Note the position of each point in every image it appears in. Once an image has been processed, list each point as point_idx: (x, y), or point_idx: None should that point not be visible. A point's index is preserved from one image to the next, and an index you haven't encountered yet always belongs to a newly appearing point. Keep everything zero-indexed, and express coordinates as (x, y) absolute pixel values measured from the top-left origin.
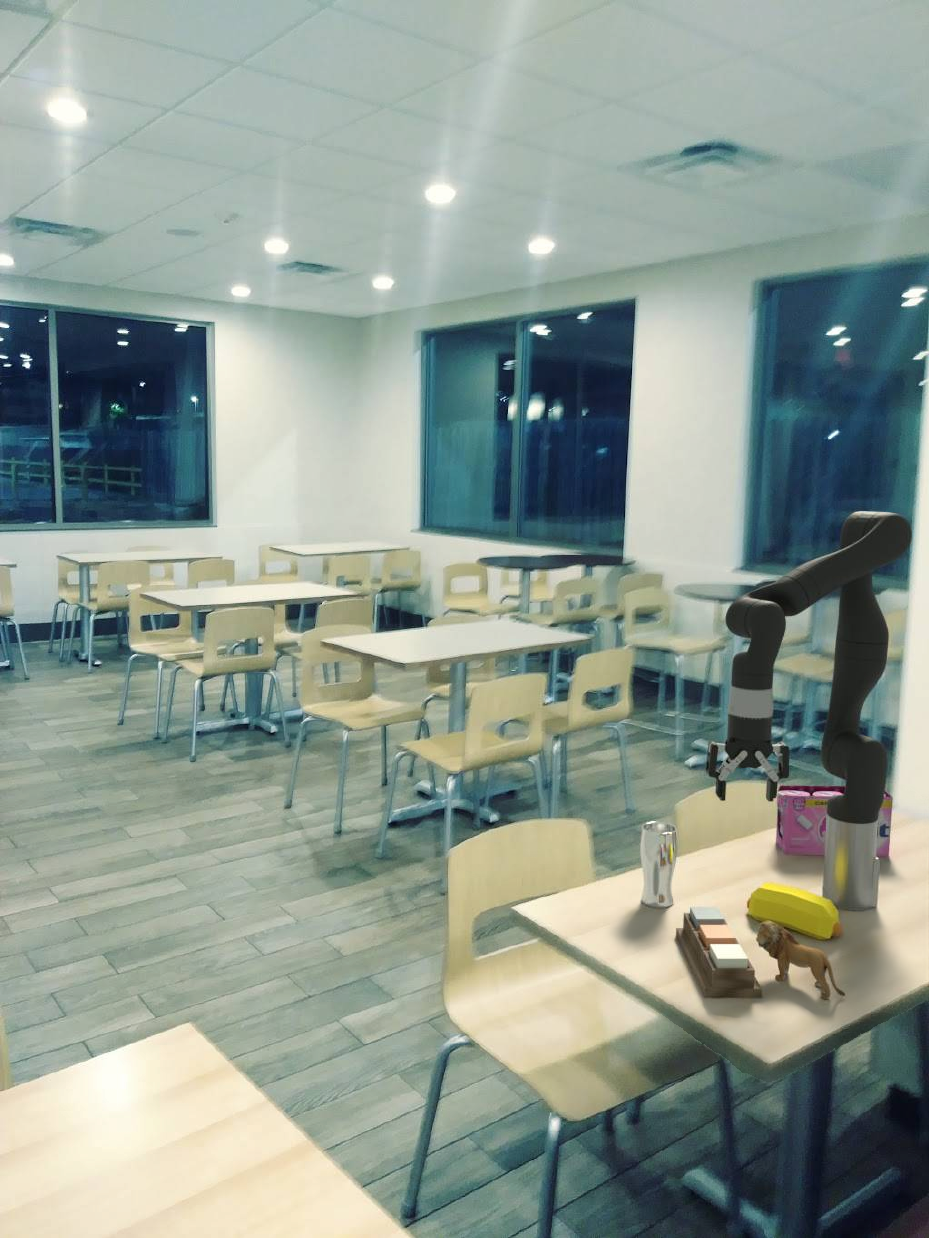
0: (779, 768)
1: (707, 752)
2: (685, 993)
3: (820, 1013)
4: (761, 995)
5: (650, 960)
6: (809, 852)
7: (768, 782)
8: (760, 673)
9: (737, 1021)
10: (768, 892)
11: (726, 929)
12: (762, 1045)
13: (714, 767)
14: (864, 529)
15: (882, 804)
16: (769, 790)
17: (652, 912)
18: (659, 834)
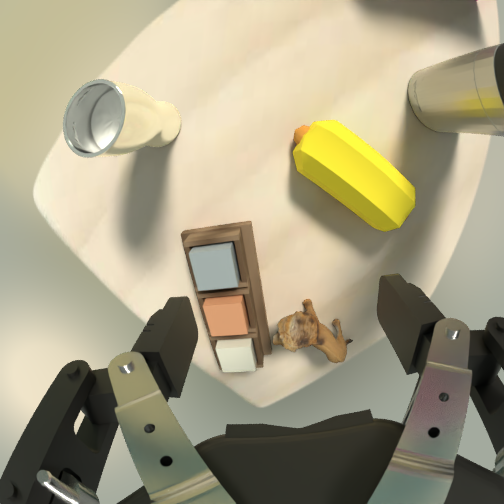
0: (496, 357)
1: (18, 444)
2: (199, 346)
3: (319, 361)
4: (271, 349)
5: (160, 292)
6: None
7: (409, 341)
8: None
9: (243, 377)
10: (328, 172)
11: (238, 315)
12: (258, 397)
13: (104, 446)
14: None
15: None
16: (393, 339)
17: (152, 163)
18: (92, 156)
